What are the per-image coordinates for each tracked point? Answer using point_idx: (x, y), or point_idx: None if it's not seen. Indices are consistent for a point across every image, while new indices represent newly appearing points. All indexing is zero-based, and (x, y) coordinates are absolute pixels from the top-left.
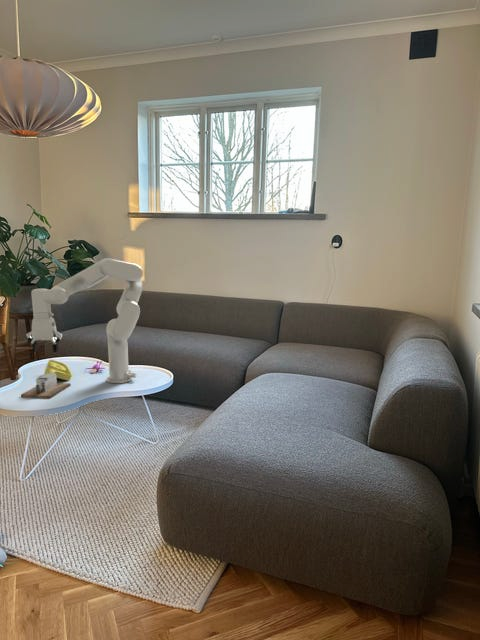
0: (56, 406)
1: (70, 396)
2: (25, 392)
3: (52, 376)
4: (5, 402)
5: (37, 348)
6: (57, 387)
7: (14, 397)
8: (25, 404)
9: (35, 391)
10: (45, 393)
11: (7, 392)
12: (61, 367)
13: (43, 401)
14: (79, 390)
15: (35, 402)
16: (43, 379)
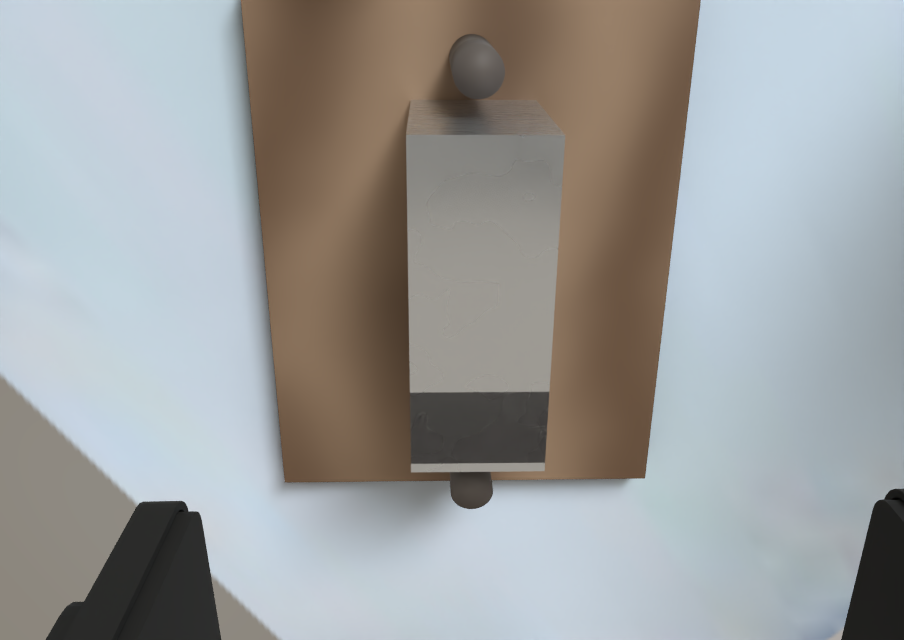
0: (795, 624)
1: (840, 377)
2: (288, 417)
3: (554, 251)
4: (241, 602)
5: (178, 608)
6: (590, 193)
7: (222, 479)
8: (473, 619)
9: (387, 372)
10: (550, 416)
11: (2, 349)
12: None
13: (607, 537)
14: (887, 164)
15: (540, 568)
16: (529, 467)
